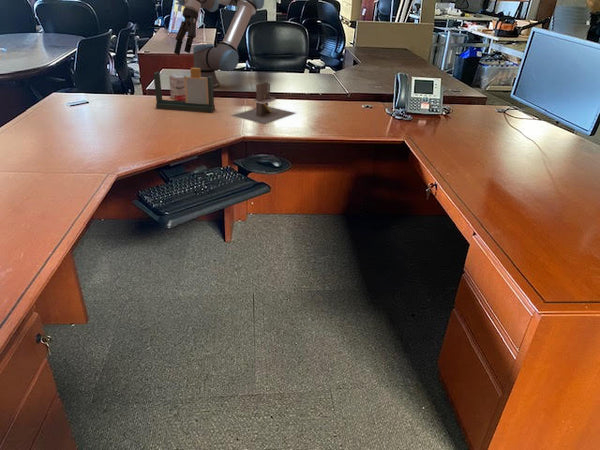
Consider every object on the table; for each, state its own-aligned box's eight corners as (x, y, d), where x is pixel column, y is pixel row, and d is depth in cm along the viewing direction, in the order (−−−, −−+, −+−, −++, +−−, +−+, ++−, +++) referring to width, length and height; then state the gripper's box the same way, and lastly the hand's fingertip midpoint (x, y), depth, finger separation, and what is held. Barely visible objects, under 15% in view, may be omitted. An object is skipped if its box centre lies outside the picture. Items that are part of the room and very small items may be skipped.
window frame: (160, 105, 222) (157, 71, 214) (214, 109, 221) (213, 75, 213) (156, 108, 217) (152, 73, 209) (211, 113, 215) (209, 77, 207)
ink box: (186, 100, 234) (184, 76, 228) (177, 101, 231) (175, 77, 226) (179, 96, 240) (177, 73, 234) (170, 97, 237) (168, 74, 231)
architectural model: (295, 113, 222) (296, 83, 215) (264, 123, 204) (265, 91, 197) (264, 105, 232) (264, 76, 224) (232, 115, 213) (231, 84, 206)
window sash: (187, 102, 219) (184, 66, 210) (210, 104, 218) (208, 68, 210) (185, 104, 216) (182, 68, 208) (208, 106, 216) (206, 69, 207)
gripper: (175, 10, 228) (165, 52, 230) (194, 3, 208) (184, 48, 210) (188, 17, 232) (179, 57, 234) (209, 10, 213) (198, 54, 215)
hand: (181, 53), depth 222 cm, fingers open, 13 cm apart
